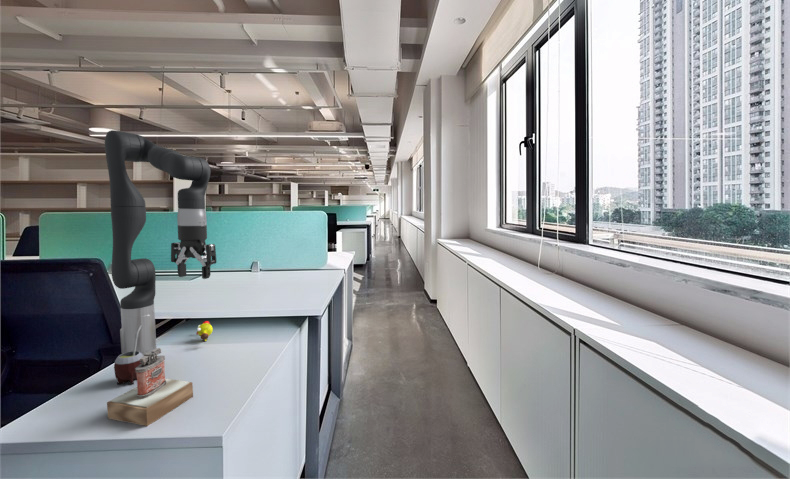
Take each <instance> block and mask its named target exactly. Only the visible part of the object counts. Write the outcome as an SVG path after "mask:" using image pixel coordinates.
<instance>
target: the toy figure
mask: <svg viewBox="0 0 790 479" xmlns="http://www.w3.org/2000/svg"><path fill="white" fill-rule="evenodd" d="M196 330H197V331H196V335H197V336H198V337H200V339H201V340H202V342H207V341H208V339H209V336H210V335H212V333H213V330H214V329H213V326H212V325H211V322H210V321H209V320H205V321H202V324H199V325H198V326H197V329H196Z"/></svg>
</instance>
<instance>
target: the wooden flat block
mask: <svg viewBox="0 0 790 479" xmlns="http://www.w3.org/2000/svg"><path fill="white" fill-rule="evenodd" d="M165 380H166V385H165V386H164V387H163V388H162V389H160V390H159V391H158V392H156V393H154V394H153V395H151V396H149V397H147V398H145V399H137V394H138V389H137V386H136V387H133V388H132V389H130V390H129V391H126V392H124V393H123V394H120V395H118V396H116V397H114V398H113V399H111V400H109V401H107V402H106V408H107V419H110V420H114V421H120V422H125V423H131V424H136V425H138V426H139V425H140V426H146V427H149V426H150V425H151V424H153V423H155V422H156V421H158V420H159V419H161V418H162V417H164V416H166V415H167V414H168V413H170V412H172V411H173V410H175V409H176V408H178V407H179V406H182V405H183V404H184V403H186V402H188V401H189V400H191V399H192V398H194V390H193V388H194V387H193V386H194V385H193V382H192V381H191V382H190V381H185V380H179V379H178V380H177V379H172V378H166V377H165Z"/></svg>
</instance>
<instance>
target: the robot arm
mask: <svg viewBox="0 0 790 479" xmlns="http://www.w3.org/2000/svg"><path fill="white" fill-rule="evenodd" d="M104 152H105V160H106V165H107V170H108V176H109V177H108V179H109V190H110V191H109V192H110V193H109V194H110V197H109V198H110V218H111V229H112V250H111V251H112V254H111V277H112V278H111V279H112V281H113V284H114V286H115V287H116V288H118V289H119V290H121V289H123V290H125V289H129V288H133V290H132V291H131V292H130V293H129V294H127V295H126V296H124V297H122V298H121V299H120V305H119V306H120V319H121V320H120V322H121V328H120V329H119V334H120V335H119V336H120V349H121V352H120V353H121V354H123V353H126V352H131V351H133V350H134V343H135V335H136V333H137V330H138V328H139V327H140V325H142V326H141V329H140V331H139V333H138V338H137V345H136V351H138V352H140V353H142V354H143V356H144V354H145V353H150V352H151V351H153V350H155V349H157V336H156V335H157V334H156V316H155V297H156V277H157V276H156V275H157V274H156V269H155V265H154V263H153V261H152V260H151V259H149V258H146V257H145V258H144V257H143V258H136V259H132V251H133V250H132V249H133V246H134V243H135V242H136V240H137V238H138V237H139V235H140V233H141V232H142V230H143V229H144V227H145V225H146V222H147V221H146V220H147V207H146V201H145V199H144V197H143V194H141V192H140V191H139V189H138V188H137V187H136V186H135V184H134V183H133V182H132V181H131V178H130V176H129V175H128V172H127V168H126V163H125V161H126V162H131V163H132V162H133V163H150V165H151V166H153V167H154V168H156V169H157V170H160V171H163V172H165V173H167V174H168V175H169V176H171V177H172V178H175V179H177V180H183V181H191V183H190V186H189V187H186V188H181V189H179V190H178V191H177V216H176V218H177V220H176V221H177V239H178V241H180V242H171V244H170V263H175V264H176V265H177V275H178V277H179V278H183V277H186V276H187V264H186V263H187V261H188V260H189V259H190V258H192V259H196V260H197V261H198V262H199V263H200V265H201V279H203V280H205V279H209V278H210V277H211V266H212V265H215V264H217V251H216V245H215V243H209V244H207V243H206V240H207V239H208V228H207V226H208V225H207V212H206V193H207V189H208V186H209V181H210V178H211V174H212V173H211V170H212V169H211V167H210V164H209V162H208V160H206V159H204V158H202V157H196V156H190V155H186V154H185V155H184V154H182V153H180V152H178V151H176V150H173V149H170V148H166V147H164V146H159V145H158V144H156V143H154V142H153V141H151V140H150V139H148V138H146V137H144V136H143V135H139V134H137V133H131V132H125V131H121V130H115V129H114V130H109V131H108V132H106V135H105V137H104Z"/></svg>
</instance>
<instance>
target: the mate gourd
mask: <svg viewBox="0 0 790 479" xmlns="http://www.w3.org/2000/svg"><path fill="white" fill-rule="evenodd" d="M141 326H142V325H140V327H139V328H138V330H137V333H136V335H135V343H134V350H133V351H131V352H126V353H123V354H122V353H121V354H119V355H118V356H117V357H116V359H115V360H114V365H113V369H114V370H113V371H114V376H115V378H116V381H117V382H116V384H117V385H124V384H127V383H129V385H130V386H133V385H135V382H134V381H137V372H136V371H135V368H136V367H137V366H139V365H140V364H141V363H140V358H141V357H143V354H142V353H140V352H138V351H136V345H137V338H138V333H139V331H140V329H141Z"/></svg>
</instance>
